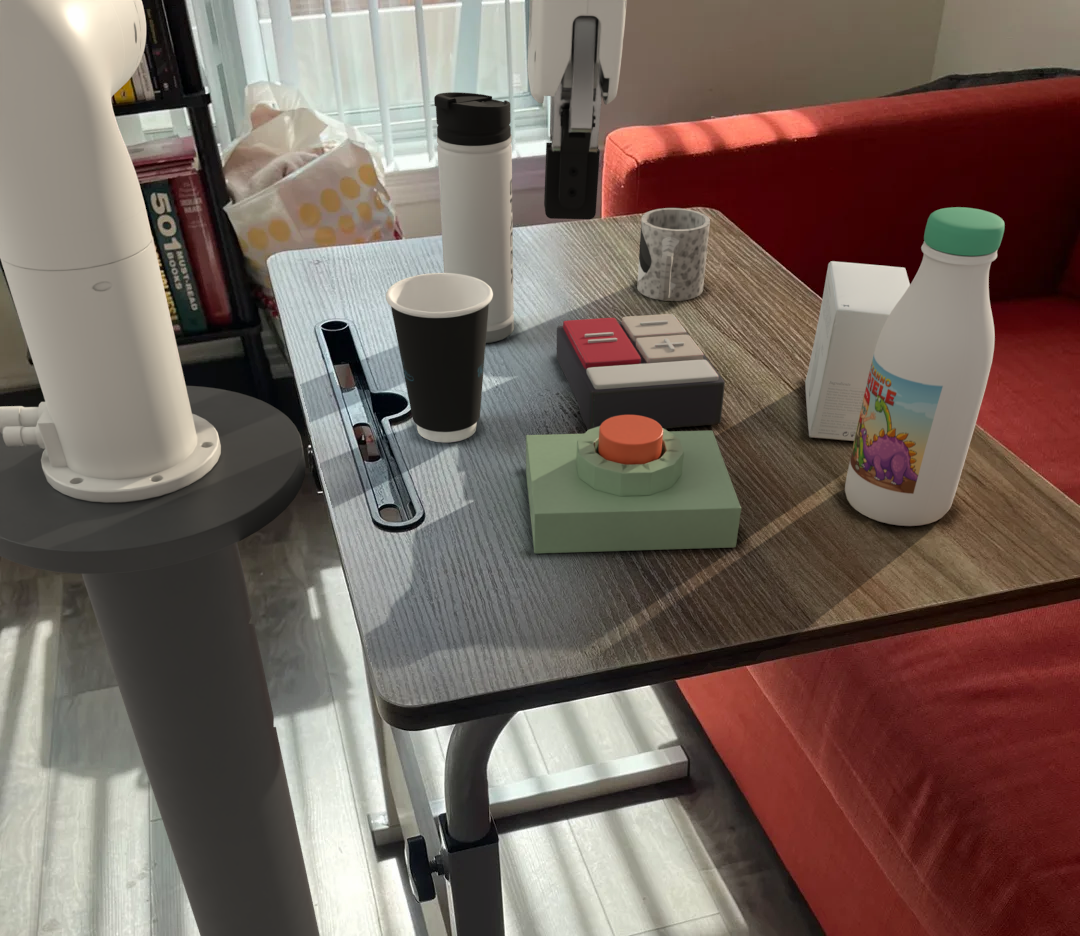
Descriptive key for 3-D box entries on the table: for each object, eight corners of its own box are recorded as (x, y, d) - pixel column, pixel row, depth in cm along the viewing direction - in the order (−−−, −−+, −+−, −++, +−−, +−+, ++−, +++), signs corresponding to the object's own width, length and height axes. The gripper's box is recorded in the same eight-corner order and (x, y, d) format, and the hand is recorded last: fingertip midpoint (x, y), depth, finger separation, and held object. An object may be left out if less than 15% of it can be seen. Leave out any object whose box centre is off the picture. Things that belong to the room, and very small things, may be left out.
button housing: (534, 553, 76) (534, 489, 73) (525, 473, 84) (525, 412, 81) (735, 547, 77) (745, 484, 73) (708, 468, 85) (715, 407, 82)
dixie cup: (378, 426, 90) (364, 289, 82) (454, 396, 94) (448, 264, 86) (438, 462, 85) (429, 322, 78) (516, 430, 89) (514, 294, 82)
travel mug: (430, 330, 104) (415, 90, 90) (484, 311, 107) (477, 78, 94) (473, 351, 100) (464, 105, 87) (527, 331, 104) (526, 91, 90)
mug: (641, 273, 115) (646, 205, 110) (706, 278, 114) (713, 210, 109) (627, 310, 107) (631, 240, 103) (696, 316, 106) (703, 245, 102)
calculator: (677, 308, 99) (727, 373, 87) (673, 356, 101) (722, 424, 90) (555, 316, 97) (590, 383, 86) (555, 364, 100) (589, 435, 88)
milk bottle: (920, 470, 85) (992, 193, 72) (970, 523, 79) (1058, 233, 66) (826, 480, 84) (882, 200, 70) (870, 535, 78) (939, 242, 65)
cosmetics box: (890, 446, 88) (922, 315, 81) (808, 439, 88) (832, 309, 81) (880, 387, 95) (908, 263, 88) (804, 382, 96) (825, 258, 89)
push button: (601, 468, 76) (602, 445, 75) (595, 437, 79) (596, 414, 78) (665, 466, 76) (667, 443, 75) (656, 436, 79) (658, 413, 78)
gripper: (513, -163, 64) (508, 177, 76) (521, -138, 53) (513, 255, 65) (642, -158, 64) (616, 180, 77) (677, -132, 53) (640, 258, 66)
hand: (569, 214), depth 71 cm, fingers closed
